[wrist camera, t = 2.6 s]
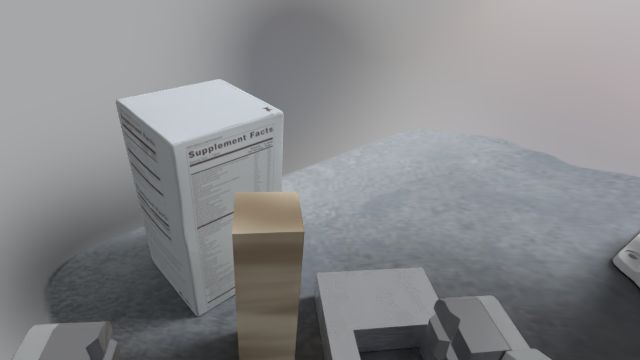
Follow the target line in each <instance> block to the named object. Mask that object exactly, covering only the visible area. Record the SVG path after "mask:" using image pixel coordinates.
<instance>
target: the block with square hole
mask: <svg viewBox="0 0 640 360" xmlns="http://www.w3.org/2000/svg"><path fill="white" fill-rule="evenodd" d="M314 299H315V305H316V311H317V317H318V323H319V329H320V335H321V341H322V347H323V353H324V359H325V360H360V356H359V352H369V351H380V350H391V349H402V348H413V347H419V350H420V352H421V355H422V357H423V360H439V359H438V358H437V357H435V356H434V355H433V353H432V351H431V348H430V346H429V342H428V338H427V325H428V322H429V319H430V318H431V317H432V316H434V315H435V314H436V312H435V310H434V305H435V303H436V301H437V300H439V299H438V297H437V295H436V293H435V291H434V289H433V287H432V285H431V283H430V281H429V279H428V277H427V275H426V273H425V271H424V269H423V267H419V268H400V269H382V270H363V271H344V272H325V273H316V282H315V291H314Z"/></svg>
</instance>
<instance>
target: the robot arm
mask: <svg viewBox="0 0 640 360" xmlns="http://www.w3.org/2000/svg"><path fill="white" fill-rule="evenodd" d="M613 263H614V264H615V265H616V266H617V267H618V268H619V269H620V270H621V271H622V272H623V273H625V274H626V275H627V276H628V277H629V278H631V279H632V280H633V281H634V282H635V283H636V284H637V285H638V286H639V288H640V233H639V234H638V235H637V236H636V237H635V238H634V239H633V240H632V241H631V242H630V243H629V244H627V245H626V246H625V247H624V248H623V249H622V250H621V251H620V252H619V253H618V254H617V255H616V256H615V257H614V258H613ZM434 310H435V312H436V314H435V315H434V316H432V317H431V318H430V319H429V322H428V325H427V338H428V342H429V346H430V348H431V351H432V353H433V355H434V356H435V357H437V358H438V359H439V360H552V359H550V358H549V357H547V356H546V355H544V354H543V353H541V352H540V351H539V350H537V349H530V347H529V346H528V344H527V343H526V341H525V340H524V339H523V337H522V336H521V334H520V333H519V331H518V330H517V328H516V327H515V325H514V324H513V322H512V321H511V319H510V318H509V316H508V315H507V313H506V312H505V310H504V309H503V307H502V306H501V304H500V303H499V301H498V300H497V299H496V298H495V297H494V296H492V295H486V296H474V297H473V296H467V297H454V298H442V299H439V300H437V301H436V303H435V305H434ZM112 333H113V328H112V325H111V323H110V321H105V322H81V323H57V324H42V325H34V326H33V327H32V328H31V329H30V330H29V331H28V332H27V334H26V336H25V337H24V339H23V341H22V342H21V344H20V346H19V348H18V349H17V351H16V353H15V355H14V356H13V358H12V360H120V351H119V346H118V343H117V342H116V341H115V340H113V339H111V336H112Z"/></svg>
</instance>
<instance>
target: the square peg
mask: <svg viewBox="0 0 640 360" xmlns="http://www.w3.org/2000/svg"><path fill="white" fill-rule="evenodd" d="M232 242H233V260H234V278H235V295H236V313H237V330H238V348H239V360H295V347H296V334H297V321H298V308H299V296H300V283H301V270H302V257H303V244H304V226H303V220H302V214H301V209H300V203H299V197H298V191H290V192H235V198H234V213H233V227H232Z"/></svg>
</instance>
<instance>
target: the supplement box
mask: <svg viewBox="0 0 640 360" xmlns="http://www.w3.org/2000/svg"><path fill="white" fill-rule="evenodd" d="M116 105H117V110H118V114H119V119H120V123H121V128H122V132H123V136H124V141H125V145H126V149H127V154H128V158H129V162H130V166H131V171H132V175H133V179H134V184H135V188H136V192H137V197H138V201H139V205H140V209H141V214H142V218H143V222H144V227H145V231H146V235H147V240H148V244H149V248H150V253H151V257H152V261H153V262H154V263H155V265H156V266H157V267H158V269H159V270H160V271H161V272H162V274H163V275H164V276H165V277H166V279H167V280H168V281H169V282H170V284H171V285H172V286H173V287H174V289H175V290H176V291H177V292H178V294H179V295H180V296H181V298H182V299H183V300H184V301H185V303H186V304H187V305H188V306H189V307H190V309H191V310H192V311H193V313H194V314H195V315H196V316H201V315H202V314H204V313H205V312H207V311H209V310H210V309H212V308H214V307H215V306H217V305H218V304H220V303H222V302H223V301H225V300H227V299H228V298H230V297H232V296H233V295H235V278H234V260H233V242H232V227H233V213H234V198H235V192H281V189H282V151H283V150H282V149H283V112H282V111H280V110H279V109H277V108H275V107H273V106H271V105H269V104H267V103H265V102H263V101H262V100H260V99H258V98H256V97H254V96H252V95H250V94H248V93H246V92H244V91H242V90H240V89H239V88H237V87H235V86H233V85H231V84H229V83H227V82H225V81H223V80H221V79H217V80H212V81H208V82H203V83H197V84H192V85H188V86H182V87H177V88H173V89H168V90H162V91H157V92H152V93H147V94H142V95H137V96H132V97H128V98H123V99H118V100H116Z"/></svg>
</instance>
